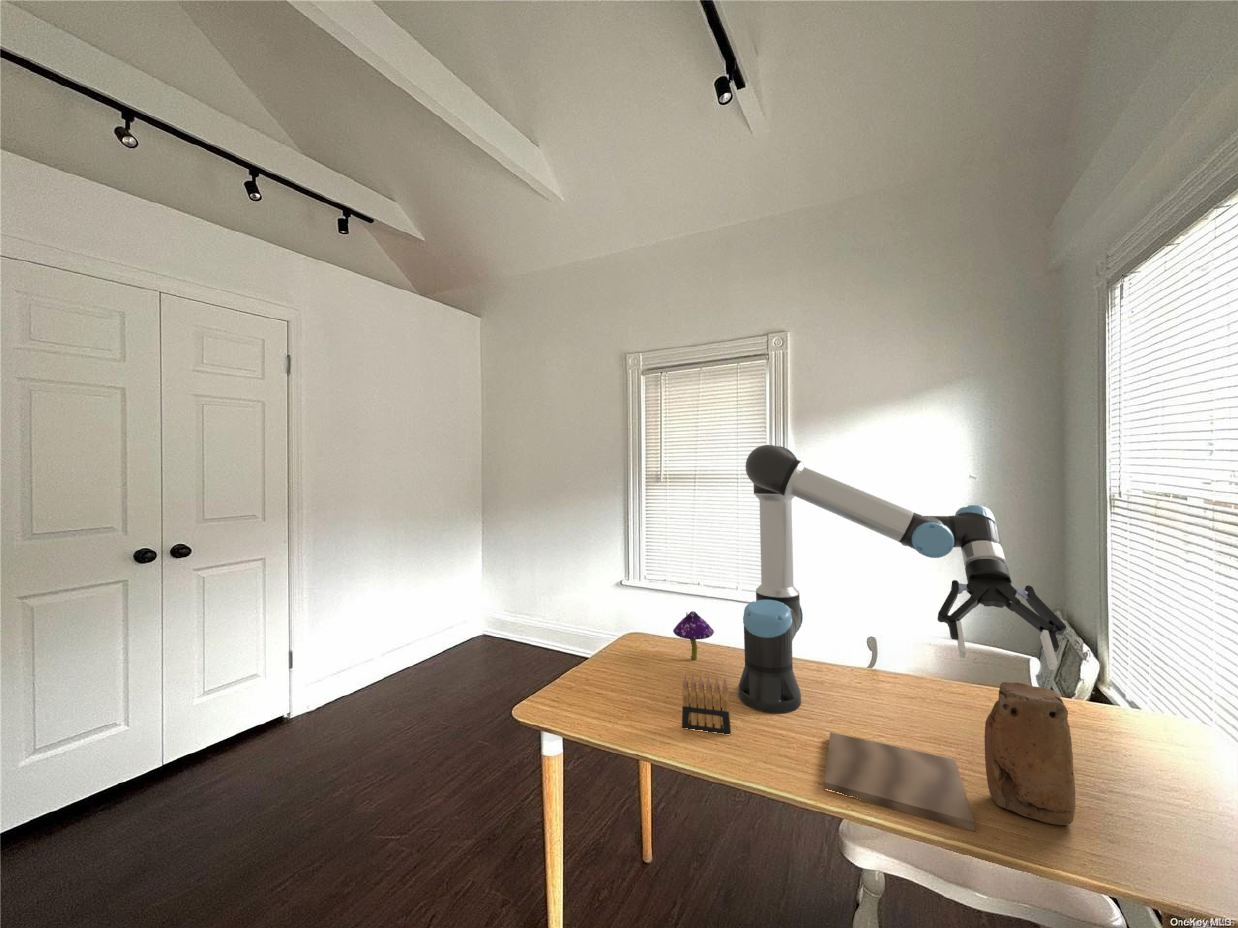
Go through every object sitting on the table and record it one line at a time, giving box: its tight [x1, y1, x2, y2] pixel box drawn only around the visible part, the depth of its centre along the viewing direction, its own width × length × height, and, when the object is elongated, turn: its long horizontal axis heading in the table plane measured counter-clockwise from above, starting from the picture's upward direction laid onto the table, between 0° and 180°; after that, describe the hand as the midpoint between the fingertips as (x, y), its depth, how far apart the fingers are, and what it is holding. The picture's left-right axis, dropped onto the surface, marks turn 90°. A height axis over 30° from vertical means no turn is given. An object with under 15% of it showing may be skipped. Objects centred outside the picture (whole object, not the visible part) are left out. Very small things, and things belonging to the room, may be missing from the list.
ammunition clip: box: [681, 673, 732, 734], centre depth 105 cm, size 11×2×12 cm, turn 73°
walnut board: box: [823, 732, 976, 832], centre depth 87 cm, size 22×18×2 cm
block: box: [984, 681, 1076, 826], centre depth 79 cm, size 11×8×20 cm
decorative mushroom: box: [672, 610, 715, 661], centre depth 144 cm, size 12×12×15 cm
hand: (1006, 660), depth 89 cm, fingers open, 13 cm apart
